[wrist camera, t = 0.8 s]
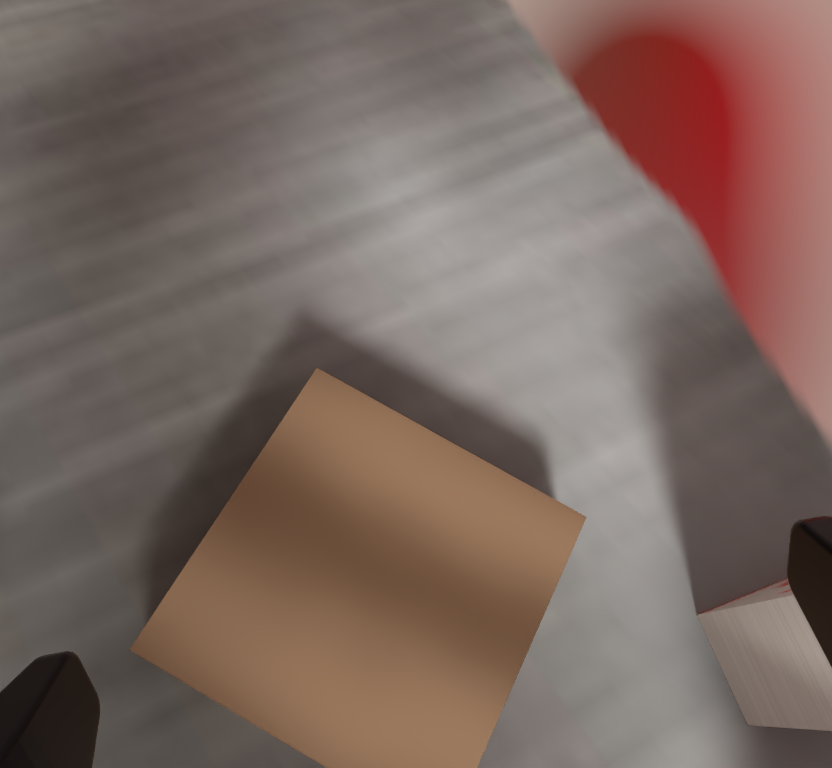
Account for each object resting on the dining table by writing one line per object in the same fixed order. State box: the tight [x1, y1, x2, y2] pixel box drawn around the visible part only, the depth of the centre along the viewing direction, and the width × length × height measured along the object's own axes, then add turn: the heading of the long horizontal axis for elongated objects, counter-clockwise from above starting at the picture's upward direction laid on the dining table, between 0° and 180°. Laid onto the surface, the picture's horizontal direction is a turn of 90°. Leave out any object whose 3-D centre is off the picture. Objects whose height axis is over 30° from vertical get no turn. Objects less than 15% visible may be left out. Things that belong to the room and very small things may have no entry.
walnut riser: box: [129, 368, 586, 768], centre depth 24 cm, size 10×10×3 cm
